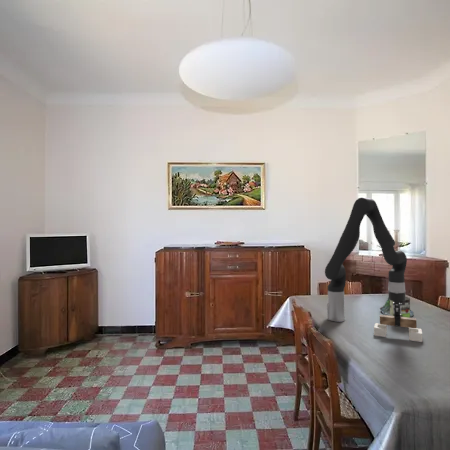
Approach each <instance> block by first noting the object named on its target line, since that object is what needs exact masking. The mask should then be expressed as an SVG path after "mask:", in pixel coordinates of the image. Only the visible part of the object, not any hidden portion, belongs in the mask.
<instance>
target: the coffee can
mask: <svg viewBox="0 0 450 450" xmlns="http://www.w3.org/2000/svg"><path fill="white" fill-rule="evenodd" d="M393 303H395V302H394V301H391V300H390V316H395V315H394V313H393ZM400 304H402V308H401V314H400V315H401V316H400V317H408V318H411V317H410V310H411V298H410V297H408V296H406V300H405V301H403V302H401V301H400Z"/></svg>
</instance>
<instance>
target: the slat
mask: <svg viewBox="0 0 450 450" xmlns="http://www.w3.org/2000/svg"><path fill="white" fill-rule="evenodd" d="M379 324H382V325H387V326H392V327H396V326H395V318H394V316H389V315H385V314H379ZM400 327H401V328H408V329H409V328H418V327H417V318H416V317H410V318H408V317H401V318H400Z"/></svg>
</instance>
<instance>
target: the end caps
mask: <svg viewBox="0 0 450 450" xmlns="http://www.w3.org/2000/svg"><path fill="white" fill-rule="evenodd" d="M387 326H388V325H382V324H380V323H377V322H376V323H374V326H373V336H376V337H384V338H387V332H388V331H387V330H388V329H387ZM408 340H409V341H413V342H419V343H423V330H422V328H418V327H417V328H408Z"/></svg>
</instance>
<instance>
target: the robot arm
mask: <svg viewBox="0 0 450 450" xmlns="http://www.w3.org/2000/svg"><path fill="white" fill-rule="evenodd" d="M365 216H366V217H367V218H368V219H369V221H370V222H371V224H372V225H371V226H372V229H373V234H374V237H375V240H376V241H377V242H378V244H379V246H380V248H381V251H382V252H381V253H382V255H383V258H384V260H385V263H387V264H388V265H389V266H392V267H391V269H390V270H389V271H388V285H387V286H388V287H387V288H388V296H389V300H391V301H394V302H395V303H393V313H394V315H395V316H394V318H395V326H394V327H400V318H401V317H400V316H401V315H400V314H401V308H402V304H400V301H401V302H403V301H405V300H406V297H407V296H406V283H405V272H406V268H407V261H408V259H407V255H406V253H405V252H404V251H402V250H395V247H394V246H395V245H396V242H395V239H394V237H393V236H392V235H391V232H390V231H389V230H388V228H387V226H386V224H385V221H384V219H383V217H382V215H381V212H380V209H379V206H378V203H377V202H376V201H375V200H374V199H373V198H370V197H359V198H357V199H356V200H355V201H354V203H353V205H352V209H351V211H350V215H349V216H348V217H349V218H348V220H347V223H346V225H345V228H344V229H343V231H342V233H341V235H340V237H339V240H338V243H337V245H336V247H335V250H334V252H333V254H332V256H331V258H330V259H329V261H328V263H327V265H326V267H325V270H324V275H325V277H326V278H327V279H328V280H330V283H329V284H328V285H327V305H326V307H327V308H326V310H327V314H326V315H327V316H326V317H327V321H331V322H336V323H337V322H338V323H339V322H340V323H341V322H344V321H345V320H346V319H345V318H346V316H345V314H346V312H345V311H346V309H345V308H346V307H345V287H346V282H347V281H346V277H347V274H346V268H345V266H344V265H343V264H344V262H345V261H346V259H347V258H348V257H349V256H350V255H351V254H352V253H353V251H354V250H355V248H356V246H357V245H358V242H359V240H360V237H361V236H360V234H361V229H360V228H361V223H362V221H363V219H364V218H365Z"/></svg>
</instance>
